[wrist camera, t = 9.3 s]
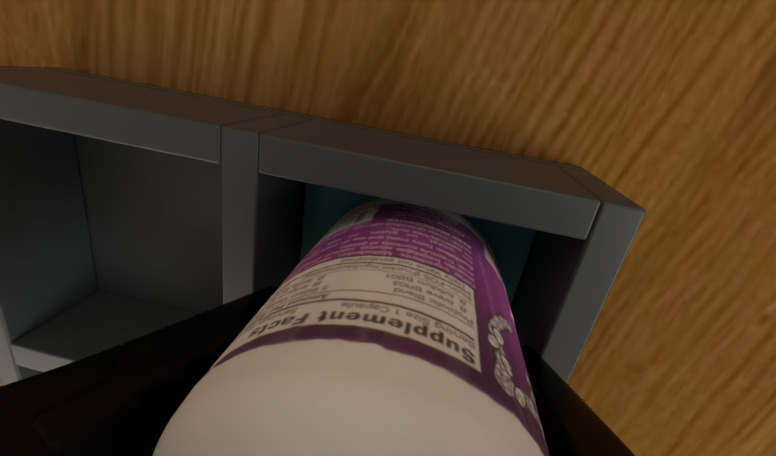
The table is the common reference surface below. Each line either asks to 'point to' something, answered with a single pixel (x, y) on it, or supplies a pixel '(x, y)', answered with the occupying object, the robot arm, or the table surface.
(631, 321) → the table surface
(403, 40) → the table surface
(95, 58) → the table surface
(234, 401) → the pill bottle
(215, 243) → the compartment tray
